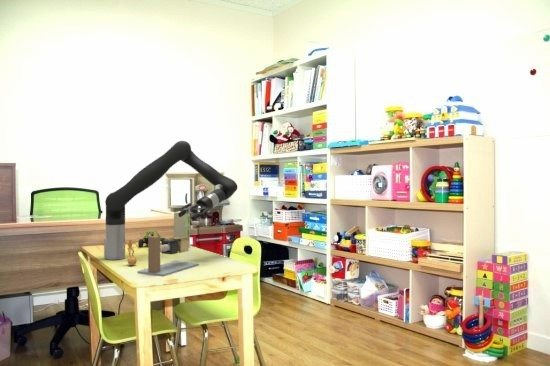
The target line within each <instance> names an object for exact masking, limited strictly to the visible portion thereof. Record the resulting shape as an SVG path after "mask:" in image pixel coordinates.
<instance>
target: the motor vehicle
mask: <svg viewBox="0 0 550 366" xmlns="http://www.w3.org/2000/svg"><path fill="white" fill-rule="evenodd" d="M155 233H156V234H157V235H156V234H155ZM151 236H158V237H160V242H161V241H162V240H166V239H167V238H165V237H162V236H161V235H159V233H158V232H157V231H156V230H153V231H151V230H148V231H146V233H145V235H144V236H143V238H140V239H138V242H137V245H138V247H139V248H143V247H144V244H145V245H148V237H151Z"/></svg>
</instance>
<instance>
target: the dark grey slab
mask: <svg viewBox="0 0 550 366" xmlns="http://www.w3.org/2000/svg"><path fill="white" fill-rule="evenodd" d="M165 239H166V240H162V241H160V245H164V244H169V243H170V250H169V251H164V252H160V254H163V255H176V254H178V253H177V245H178V240H169V238H168V239H167V238H165Z"/></svg>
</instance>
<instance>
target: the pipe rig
mask: <svg viewBox="0 0 550 366" xmlns="http://www.w3.org/2000/svg"><path fill="white" fill-rule="evenodd" d="M160 238H161V237H159V236H158V235H156V236H151V237H148V244H147V246H148V247H147V248H148V249H147V252H148V253H147V254H148V255H147V256H148V257H147V261H148V262H147V263H148V264H147V266H148V267H147V268H145V269H141V270H138V271H137V274H141V275H150V276H158V277H166V276H169V275H173V274H176V273H179V272H181V271H184V270H188V269H191V268H194V266H195V267H197V266H199V265H200V263H199V262H198V263H197V262H190V261H189V262H188V261H178V260H173V261H169V262H166V263H163V264H161V252H164V251H169V250H170V243H169V244H164V245H161V241H160ZM188 245H189V241H188ZM177 248H179V241H178V245H177Z"/></svg>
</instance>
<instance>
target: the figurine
mask: <svg viewBox="0 0 550 366" xmlns="http://www.w3.org/2000/svg"><path fill="white" fill-rule="evenodd" d="M133 244H134V245H136V247H137V248H138V249H140V247H139V246H138V243H136V242H134V241H133V240H132V239H129V240H128V241H125V244H124V245H125V246H126V245H127V246H128V247H127V250H128V251H127V252H128V256H129V258H128V260H127V264H128V265H129V266H132V267H133V266H135V265H136V264H137V263H138V262H137V261H138V259H137V258H136V257H135V256H134V253H135V249H134V246H133ZM124 245H123V248H124ZM123 250H124V249H122V251H123Z"/></svg>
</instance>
